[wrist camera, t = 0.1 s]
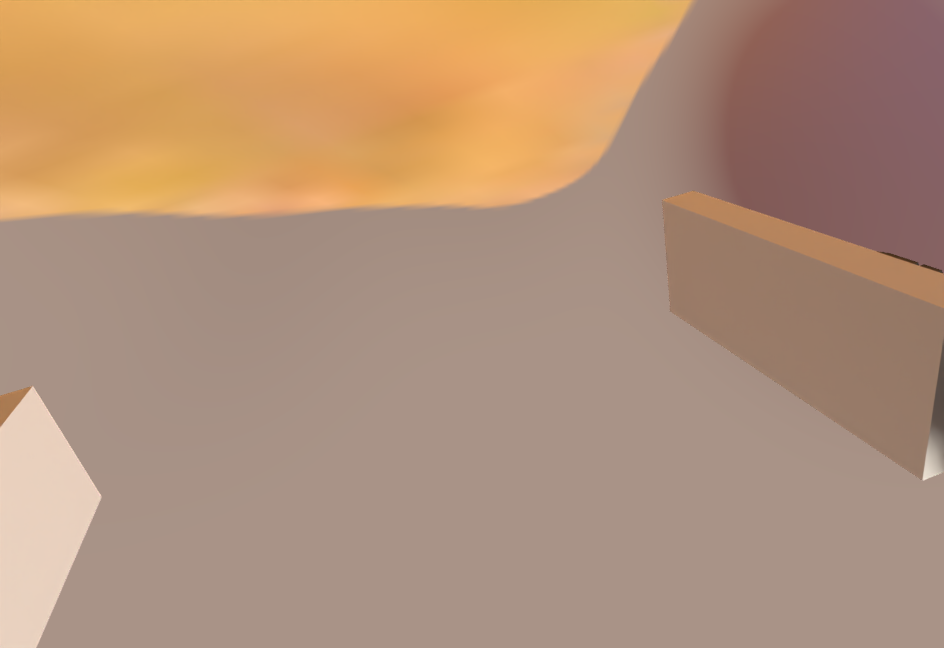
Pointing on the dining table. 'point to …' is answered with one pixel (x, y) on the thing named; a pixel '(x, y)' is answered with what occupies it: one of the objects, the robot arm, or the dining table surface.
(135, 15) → the dining table surface
